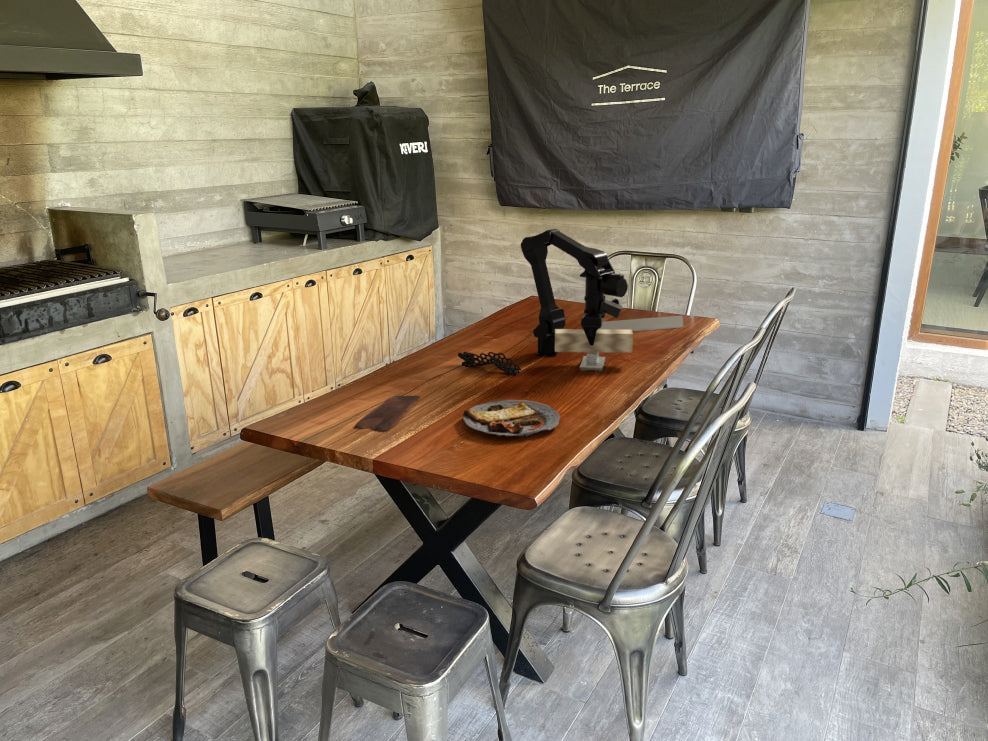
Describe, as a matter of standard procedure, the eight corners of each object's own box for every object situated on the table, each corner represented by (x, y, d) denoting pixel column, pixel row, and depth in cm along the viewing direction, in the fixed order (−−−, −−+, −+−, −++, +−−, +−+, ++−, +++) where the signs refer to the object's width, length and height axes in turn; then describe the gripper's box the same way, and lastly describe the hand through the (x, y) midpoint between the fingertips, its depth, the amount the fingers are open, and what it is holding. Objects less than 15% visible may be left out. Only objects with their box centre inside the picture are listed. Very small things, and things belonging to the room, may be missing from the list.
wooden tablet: (392, 391, 215) (425, 390, 212) (394, 398, 216) (426, 397, 213) (351, 426, 191) (386, 425, 188) (352, 434, 192) (388, 433, 189)
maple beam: (554, 351, 235) (555, 333, 233) (554, 347, 240) (555, 329, 238) (632, 352, 233) (633, 333, 231) (630, 347, 238) (631, 329, 236)
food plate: (483, 447, 179) (483, 433, 178) (449, 416, 199) (449, 403, 198) (575, 432, 188) (575, 419, 187) (533, 403, 209) (533, 391, 208)
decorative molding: (587, 335, 282) (597, 335, 272) (586, 323, 281) (596, 322, 272) (671, 328, 289) (683, 328, 279) (670, 316, 289) (682, 315, 279)
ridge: (579, 370, 233) (579, 354, 232) (583, 358, 244) (584, 344, 243) (602, 371, 232) (602, 355, 230) (605, 359, 243) (605, 345, 241)
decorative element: (523, 373, 232) (522, 355, 230) (514, 378, 228) (514, 359, 226) (463, 362, 244) (463, 345, 242) (454, 366, 240) (454, 349, 238)
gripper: (619, 300, 220) (617, 351, 225) (622, 287, 238) (621, 334, 243) (581, 298, 223) (580, 349, 228) (587, 286, 240) (586, 333, 245)
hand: (593, 341), depth 236 cm, fingers open, 9 cm apart
